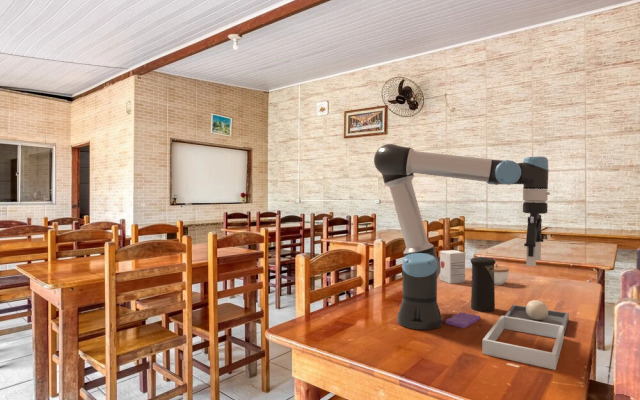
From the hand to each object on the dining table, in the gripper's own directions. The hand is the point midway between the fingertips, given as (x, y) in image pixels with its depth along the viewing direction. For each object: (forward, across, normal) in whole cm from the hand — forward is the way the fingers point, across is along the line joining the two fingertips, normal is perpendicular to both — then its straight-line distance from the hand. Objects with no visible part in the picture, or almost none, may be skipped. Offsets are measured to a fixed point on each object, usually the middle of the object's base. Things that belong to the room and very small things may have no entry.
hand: (533, 263), depth 139 cm
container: (+21, +6, +18) cm, 29 cm away
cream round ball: (+20, +1, -1) cm, 20 cm away
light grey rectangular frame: (+21, -24, -1) cm, 32 cm away
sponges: (+22, -12, +20) cm, 32 cm away
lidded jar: (+21, +53, +22) cm, 61 cm away
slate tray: (+21, +1, -1) cm, 21 cm away
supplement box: (+21, +46, +42) cm, 65 cm away
